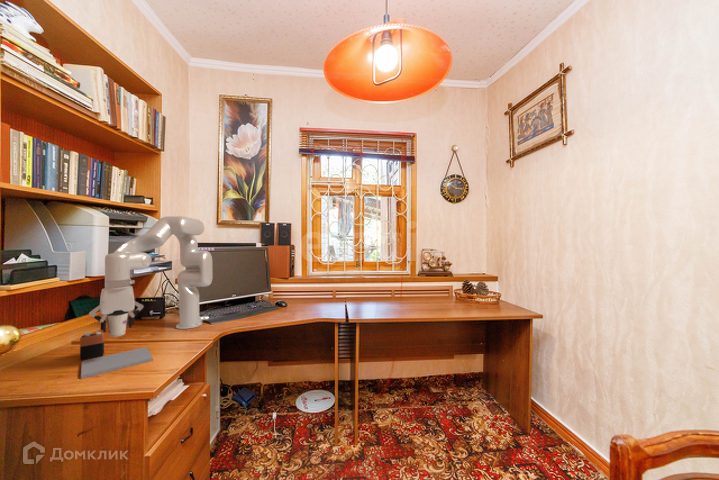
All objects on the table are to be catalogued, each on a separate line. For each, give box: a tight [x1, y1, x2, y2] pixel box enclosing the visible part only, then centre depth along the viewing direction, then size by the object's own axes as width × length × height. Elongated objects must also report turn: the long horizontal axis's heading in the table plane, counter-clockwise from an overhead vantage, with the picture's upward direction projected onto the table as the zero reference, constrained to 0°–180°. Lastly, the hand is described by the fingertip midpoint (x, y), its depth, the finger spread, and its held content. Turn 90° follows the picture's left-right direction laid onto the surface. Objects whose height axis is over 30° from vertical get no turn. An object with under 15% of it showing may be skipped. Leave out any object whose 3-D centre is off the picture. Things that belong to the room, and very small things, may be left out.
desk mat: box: [80, 346, 154, 379], centre depth 106 cm, size 20×16×1 cm
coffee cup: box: [106, 310, 129, 338], centre depth 106 cm, size 7×7×10 cm
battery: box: [79, 331, 105, 361], centre depth 111 cm, size 4×7×10 cm, turn 130°
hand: (117, 328), depth 106 cm, fingers closed on coffee cup, 7 cm apart
